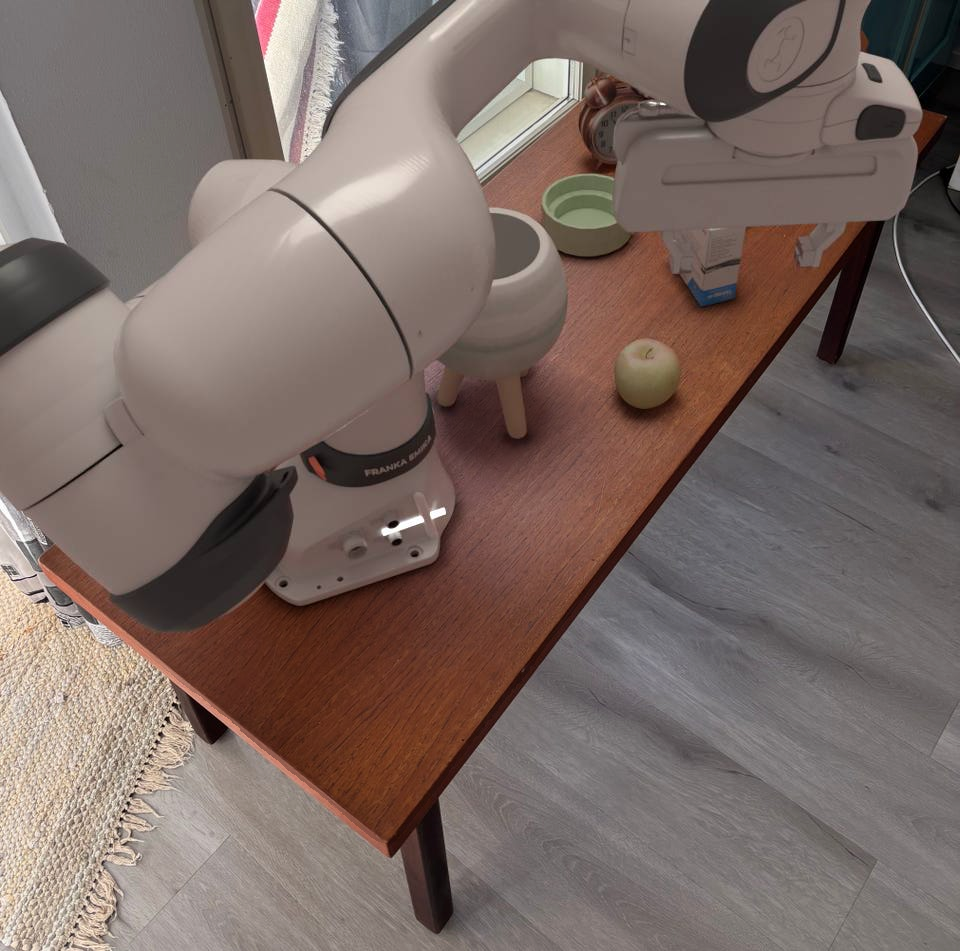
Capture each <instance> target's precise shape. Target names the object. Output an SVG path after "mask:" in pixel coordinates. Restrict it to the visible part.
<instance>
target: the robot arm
mask: <svg viewBox="0 0 960 951" xmlns="http://www.w3.org/2000/svg"><path fill="white" fill-rule="evenodd" d="M871 1H872V0H437V1H435V3H433V4H432V5H431V6H430V7H429V8H428V9H427V10H425V11H424V12H423V13H422V14H421V15H420V16H418V17H417V19H415V20H414V21H413V22H412V23H411V24H410V25H408V26H407V28H405V29H404V30H403V31H402V32H401V33H400V34H398V36H396V37H394V39H393V40H392V41H391V42H390V43H389V44H388V45H386V46H385V47H384V48H383V49H382V50H381V51H380V52H378V53H377V55H375V56H374V57H373V58H372V59H371V60H369V62H368V63H366V65H365V66H364V67H363V68H362V69H361V70H360V71H358V73H357V74H356V75H354V77H353V78H352V80H350V82H349V83H348V84H347V85H346V86H345V87H344V88H343V90H342V91H341V92H340V94H339V95H338V96H337V98H336V99H335V100H334V102H333V104H332V105H331V107H330V108H329V110H328V113H327V115H326V117H325V119H324V122H323V124H322V125H323V126H322V128H321V138H320V141H319V143H318V144H317V146H315V148H314V149H313V150H312V151H311V153H309V155H308V156H307V157H306V158H304V159H303V161H301V163H299V164H297V163H295V162H294V163H293V162H289V161H285V160H280V159H264V158H263V159H262V158H261V159H260V158H259V159H257V158H255V159H254V158H250V159H249V158H247V159H246V158H245V159H244V158H243V159H241V158H240V159H225V160H222V161H220V162H218V163H217V164H215V165H213V166H212V167H211V168H210V169H209V170H208V171H207V172H206V173H205V174H204V176H202V178H201V179H200V181H199V182H198V183H197V186H196V188H195V190H194V192H193V194H192V196H191V199H190V202H189V207H188V213H187V230H188V238H189V242H190V245H191V248H192V249H191V250H190V251H189V252H187V254H185V255H184V256H183V257H182V258H181V259H180V260H179V261H177V263H175V265H174V266H173V267H172V268H171V269H169V271H168V272H167V273H166V274H164V275H163V276H161V277H160V278H158V279H157V280H156V281H154V282H153V283H152V284H150V285H149V286H147V287H145V289H143V290H142V291H140V292H139V293H137V294H136V295H134V296H133V297H131V298H130V299H128V300H127V301H125V302H123V301H122V299H120V298H119V297H118V296H117V295H116V294H115V293H114V292H112V290H111V289H109V287H110V285H111V282H112V281H111V280H110V279H109V278H108V277H107V276H106V275H105V274H104V273H103V272H101V270H100V269H99V268H97V267H96V266H95V265H94V264H92V263H91V262H90V261H89V260H88V259H87V258H86V257H84V256H83V255H82V254H80V253H79V252H78V251H77V250H75V248H74V249H73V247H71V246H69V245H68V244H66V243H64V242H62V241H55V240H50V239H44V238H39V237H29V238H28V237H27V238H25V239H23V240H20V241H18V242H13V243H6V244H1V245H0V493H1V494H2V496H3V497H5V499H6V500H7V501H8V503H9V504H10V505H11V506H12V507H13V508H14V509H15V511H17V512H23V513H24V514H25V515H26V517H28V519H29V520H30V521H31V522H32V523H33V524H34V525H35V526H36V527H37V528H38V529H39V530H40V531H41V532H42V533H43V534H44V536H46V537H47V538H48V539H49V540H50V541H51V542H52V543H53V544H54V545H55V546H56V547H57V548H58V549H59V550H60V551H61V552H62V553H64V555H66V556H67V557H68V558H69V559H70V560H71V561H72V562H74V563H75V564H76V565H77V566H78V567H79V568H80V569H82V570H83V571H84V572H85V573H86V574H87V575H89V576H90V577H91V578H92V579H93V580H95V582H97V583H98V584H100V585H101V586H102V587H103V588H104V589H106V590H107V591H108V592H109V595H108V600H109V601H110V603H111V604H113V605H114V606H115V607H117V608H118V609H119V610H120V611H122V612H123V613H124V614H126V615H127V616H129V617H130V618H131V619H133V620H134V621H136V622H137V623H139V624H140V625H142V626H143V627H145V628H147V629H149V630H150V631H152V632H155V633H157V634H167V633H168V634H171V633H172V634H173V633H174V634H175V633H189V632H191V631H195V630H198V629H200V628H202V627H205V626H206V625H208V624H210V623H212V622H214V621H215V620H217V619H220V618H223V617H225V616H226V615H228V614H230V613H232V612H233V611H235V610H236V609H238V608H239V607H241V606H242V605H243V604H245V603H246V602H247V601H249V599H251V598H252V597H253V596H254V595H255V594H256V593H257V592H258V591H259V590H260V588H262V586H264V584H265V585H266V586H267V587H268V588H269V590H270V591H272V592H273V593H274V594H275V595H276V596H278V598H281V599H282V600H284V601H285V602H287V603H289V604H291V605H294V606H298V607H303V606H307V605H310V604H313V603H316V602H319V601H322V600H325V599H328V598H332V597H335V596H338V595H341V594H343V593H346V592H349V591H353V590H356V589H359V588H362V587H365V586H368V585H370V584H373V583H378V582H380V581H384V580H386V579H389V578H393V577H394V576H398V575H401V574H404V573H407V572H411V571H414V570H416V569H419V568H422V567H425V566H429V565H431V564H432V563H434V562H436V560H437V559H438V557H439V554H440V549H441V537H442V535H443V532H444V530H445V529H446V527H447V525H448V524H449V522H450V520H451V518H452V516H453V513H454V510H455V506H456V490H455V486H454V483H453V480H452V478H451V476H450V475H449V473H448V472H447V470H446V469H445V467H444V465H443V463H442V460H441V458H440V455H439V452H438V449H437V445H436V441H435V439H436V436H437V430H436V428H437V427H436V416H435V412H434V406H433V403H432V399H431V396H430V394H429V393H428V392H427V389H426V380H425V379H426V378H425V369H426V368H427V367H429V366H430V365H431V364H433V363H434V362H435V361H437V358H439V357H440V356H441V355H442V354H444V353H445V352H446V351H447V350H448V349H450V348H451V347H452V346H453V345H454V344H455V343H456V342H457V341H458V340H459V339H460V338H461V337H462V336H463V335H464V334H465V333H466V332H467V330H468V329H469V328H470V327H471V326H472V324H473V323H474V322H475V321H476V319H477V318H478V316H479V315H480V314H481V312H482V311H483V309H484V307H485V305H486V302H487V299H488V297H489V294H490V291H491V287H492V283H493V279H494V273H495V266H496V242H495V234H494V228H493V223H492V219H491V215H490V211H489V204H488V201H487V198H486V194H485V192H484V189H483V186H482V184H481V182H480V178H479V176H478V174H477V172H476V170H475V168H474V165H473V164H472V162H471V159H469V157H468V155H467V153H466V152H465V150H464V148H463V147H462V146H461V144H460V142H459V141H458V139H457V138H458V137H459V135H460V133H461V132H462V131H463V129H464V128H465V127H466V126H468V124H469V123H470V122H471V121H472V120H473V119H474V118H476V117H477V116H478V115H479V114H480V113H481V112H482V111H483V110H484V109H485V108H486V107H487V106H488V105H489V104H490V103H491V102H492V101H493V100H494V99H495V98H496V97H497V96H499V95H500V94H501V92H503V91H504V89H506V88H507V87H508V86H509V85H510V84H511V83H512V82H514V80H515V79H516V78H517V77H518V76H519V75H520V74H521V73H522V72H524V70H525V69H526V68H528V66H530V65H531V64H532V63H534V62H536V61H539V60H546V59H548V60H550V59H553V60H554V59H559V60H569V61H573V62H579V63H582V64H585V65H587V66H590V67H591V68H593V69H596V70H598V71H599V72H601V71H602V72H604V74H606V75H608V76H610V77H612V78H614V79H617V81H622V82H624V83H626V84H628V85H630V86H632V87H634V88H636V89H637V90H639V91H640V92H642V93H644V94H646V95H648V96H650V97H652V98H654V99H655V100H653V99H651V100H646V101H642V102H639V103H638V107H635V108H632V109H630V110H628V111H626V112H625V113H624V114H622V115H621V116H620V117H619V118H618V120H617V122H616V124H615V127H614V137H613V152H614V154H615V156H616V158H617V159H618V162H617V164H616V168H615V172H614V177H613V178H614V183H613V192H612V203H613V211H614V216H615V219H616V222H617V223H618V224H619V225H620V226H621V227H622V228H623V229H624V230H625V231H626V232H632V233H649V232H660V236H661V241H662V243H663V244H664V246H665V248H666V249H667V251H668V252H669V255H668V256H669V258H668V260H669V269H670V272H671V275H677V274H678V275H680V274H683V273H691V272H692V264H693V261H694V254H693V251H692V246H691V242H680V241H679V239H681V238H682V231H683V230H694V229H715V228H736V227H746V228H754V227H756V228H757V227H772V226H773V227H775V226H795V225H796V226H797V225H816V226H815V228H814V229H813V230H812V231H811V232H810V234H809V235H804V236H797V239H796V242H795V243H796V244H795V245H796V247H795V249H794V252H793V253H794V254H793V258H794V262H796V267H797V268H798V269H801V268H802V269H803V268H805V269H806V268H807V269H808V268H819V266H820V264H821V259H822V257H823V252H824V251H826V250H827V249H828V248H829V247H830V246H831V245H832V244H833V243H835V242H836V240H837V239H839V238H840V237H841V236H842V235H843V234H844V233H845V230H846V227H847V224H848V223H859V222H878V221H881V222H882V221H883V222H884V221H889V220H891V219H892V218H893V217H895V216H896V215H897V214H898V213H900V212H901V211H902V210H903V209H904V208H905V206H906V205H907V202H908V200H909V196H910V194H911V190H912V188H913V182H914V179H915V174H916V169H917V163H918V158H919V150H918V145H917V142H916V139H915V138H914V135H915V134H916V132H917V131H918V130H919V128H920V125H921V123H922V119H923V114H924V112H923V110H922V106H921V103H920V101H919V98H918V95H917V94H916V92H915V89H914V88H913V86H912V84H911V83H910V81H909V79H908V78H907V76H906V75H905V74H904V72H903V71H902V70H901V68H899V67H898V65H897V64H896V63H895V62H894V61H893V60H891V59H890V58H885V57H882V56H878V55H874V54H872V53H868V52H866V53H864V52H860V50H861V39H860V29H861V28H862V21H863V18H864V15H865V12H866V10H867V9H868V7H869V5H870V3H871ZM634 114H638V115H634ZM632 115H633V116H632ZM273 468H274V469H273ZM272 469H273V470H272ZM414 555H417V556H414ZM284 585H286V586H284ZM283 586H284V587H283Z"/></svg>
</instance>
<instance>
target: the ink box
mask: <svg viewBox="0 0 960 951" xmlns="http://www.w3.org/2000/svg"><path fill="white" fill-rule="evenodd" d="M746 230H747V227H736V228H715V229H694V230H683V231H682V238H681V239H679V241H680V242H691V246H692V251H693V254H694V261H693V264H692V272H691V273H683V274H679V276H680V278H681V279H682V280H683V282H684V284H685V285H686V287H687V288H688V290H689V292H690V293H691V295H692V296H693V298H694V299H695V301H696V302H697V304H698V305H699V307H701V308H702V307H705V306H709V305H714V304H718V303H722V302H726V301H730V300H734V299H735V298H736V297H735V296H736V290H737V283H738V277H739V272H740V266H741V259H742V252H743V247H744V242H745V235H746Z"/></svg>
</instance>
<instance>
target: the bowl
mask: <svg viewBox="0 0 960 951" xmlns="http://www.w3.org/2000/svg"><path fill="white" fill-rule="evenodd" d="M613 183H614V177H612V176H609V175H606V174H605V175H604V174H600V173H578V174H573V175H567V176H565V177H562V178H560V179H558V180H556V181H554V182H553V183H552V184H550V185H549V186H548V187H546V189H545V191H544V192H543V195H542V197H541V226H542V227H543V228H544V229H545V230H546V232H547V233H548V235H549V236H550V237H551V239H552V241H553V243H554V245H555V246H556V249H557V251H560V252H562V253H563V254H567V255H568V254H569V255H573V256H577V257H597V256H603V255H608V254H609V253H612V252H614V251H616V250H619V249H621V248H622V247H623V246H624V245H625V244H626V243H628V241H629V240H630V238H631V236H632V234H633V232H626V231H625V230H624V229H623V228H622V227H621V226H620V225H619V224H618V223H617V222H616V219H615V216H614V211H613V203H612V192H613Z"/></svg>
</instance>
